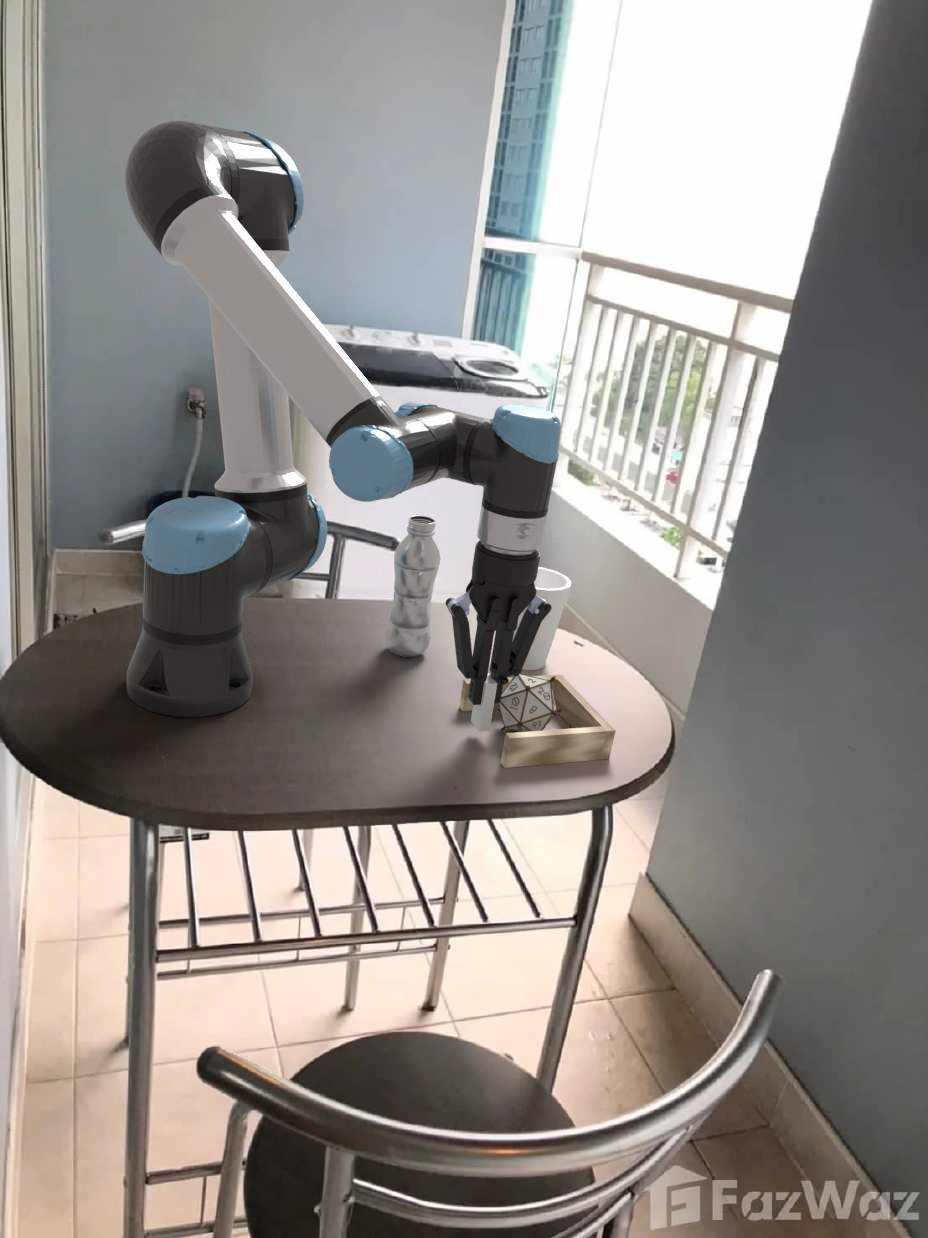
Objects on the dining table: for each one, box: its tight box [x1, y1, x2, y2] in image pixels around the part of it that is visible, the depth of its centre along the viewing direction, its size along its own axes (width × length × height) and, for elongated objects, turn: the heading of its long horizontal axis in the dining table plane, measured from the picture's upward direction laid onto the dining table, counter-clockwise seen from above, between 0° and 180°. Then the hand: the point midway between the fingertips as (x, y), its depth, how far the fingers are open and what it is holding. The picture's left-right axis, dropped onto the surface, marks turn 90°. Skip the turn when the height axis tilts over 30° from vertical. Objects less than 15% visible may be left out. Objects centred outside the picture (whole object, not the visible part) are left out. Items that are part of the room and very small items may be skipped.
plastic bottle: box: [384, 514, 441, 658], centre depth 140 cm, size 6×7×20 cm
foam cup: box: [512, 566, 572, 671], centre depth 145 cm, size 10×9×13 cm
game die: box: [498, 673, 563, 733], centre depth 126 cm, size 9×8×10 cm
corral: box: [459, 674, 616, 769], centre depth 127 cm, size 14×15×4 cm
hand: (480, 725), depth 124 cm, fingers closed
